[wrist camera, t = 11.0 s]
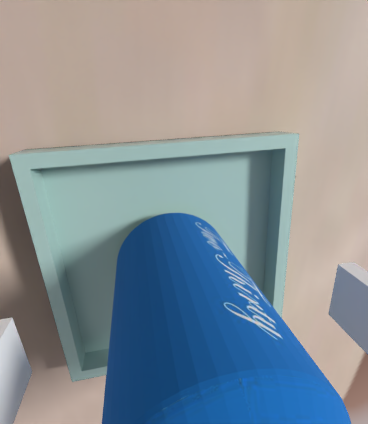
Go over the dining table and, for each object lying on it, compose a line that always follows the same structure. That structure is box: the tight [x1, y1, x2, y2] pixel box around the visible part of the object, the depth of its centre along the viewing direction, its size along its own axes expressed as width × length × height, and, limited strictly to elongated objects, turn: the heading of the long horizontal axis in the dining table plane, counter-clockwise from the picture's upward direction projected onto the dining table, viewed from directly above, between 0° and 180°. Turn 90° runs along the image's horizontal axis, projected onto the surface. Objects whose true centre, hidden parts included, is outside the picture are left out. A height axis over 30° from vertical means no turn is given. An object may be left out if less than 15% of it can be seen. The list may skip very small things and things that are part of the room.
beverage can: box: [102, 213, 351, 424], centre depth 11 cm, size 6×6×12 cm
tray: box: [9, 132, 299, 382], centre depth 16 cm, size 14×14×2 cm
